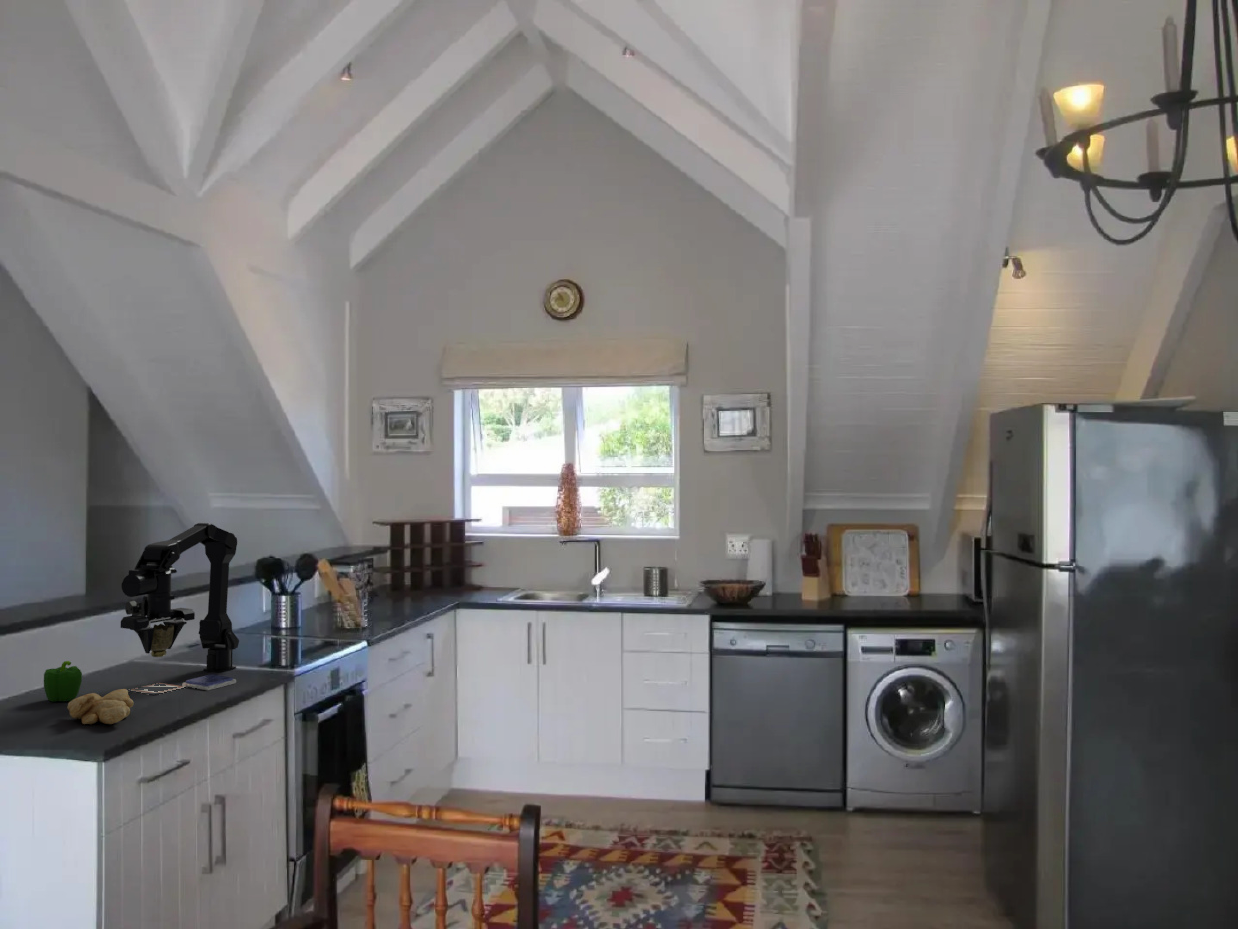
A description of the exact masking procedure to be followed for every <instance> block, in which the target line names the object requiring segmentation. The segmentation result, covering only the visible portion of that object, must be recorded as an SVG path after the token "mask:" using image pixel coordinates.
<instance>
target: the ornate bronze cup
mask: <svg viewBox="0 0 1238 929" xmlns="http://www.w3.org/2000/svg"><path fill="white" fill-rule="evenodd" d="M152 628H154V633H153V639H152V645H151V650H150V655H151V657H153V658H162V657H165V656H166V654H167V650H169V649H168V648H169V647H170V646H171V644H172V639H173V632H174V625H170V626H169V627H168V624H166V626H165V625H164V623H159V624H153V627H152Z"/></svg>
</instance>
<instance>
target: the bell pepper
mask: <svg viewBox="0 0 1238 929" xmlns="http://www.w3.org/2000/svg"><path fill="white" fill-rule="evenodd" d="M71 664H72V662H71V661H70V660H66V661H63V662H62V663H61V666H59V667H57V668H47V669H45V671H44V673H43V687H44V693H45V696H46V699H47V700H48V701H50V702H51V703H52V702H56V703H57V701H58V702H71V701H72V700H73V699H76V698H77V696H78V695H79V692H80V689H81V686H82V682H83V681H82V680H83V673H82V671H81V669H79V667H78V666H77V665H71ZM67 666H68V667H67Z"/></svg>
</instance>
